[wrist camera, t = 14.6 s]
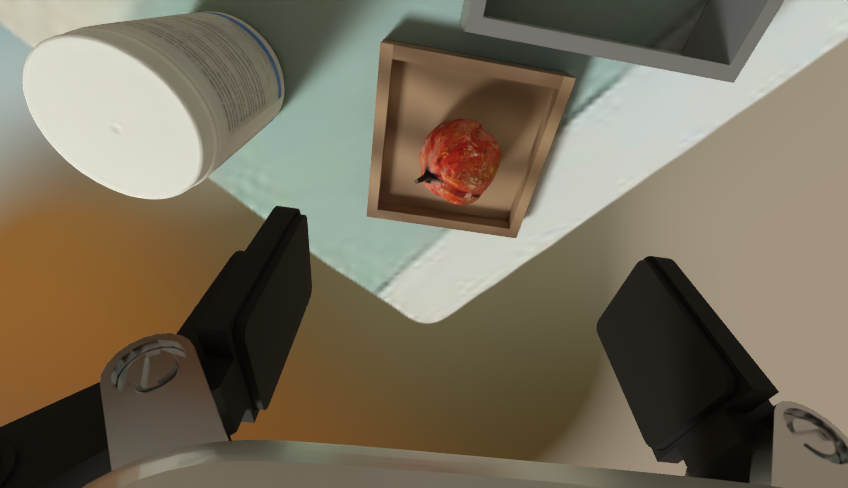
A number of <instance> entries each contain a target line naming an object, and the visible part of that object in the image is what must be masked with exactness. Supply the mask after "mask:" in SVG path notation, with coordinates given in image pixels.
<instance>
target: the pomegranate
mask: <svg viewBox="0 0 848 488" xmlns="http://www.w3.org/2000/svg"><path fill="white" fill-rule="evenodd" d="M500 148H501V147H499V145H498V142H497V140H496V138H495V137H494V136H493V135H492V134H490V133H488V132H486V131H485V130H483V127H482V125H481V124H480V123H479V122H477V121H474V120H469V119H456V120H453V121H444V122H443V123H441V124H439V125H438V126H437V127H435V128H434V129H433V130H432V131H431V132H430V133H429V134H428V136H427V137H426V138H425V140H424V141H423V143H422V146H421V150H420V154H419V160H420V164H421V177H419V178H417V179H415V181H414V183H413V185H414V184H417V183H421V182H423V184H424V186H425V187H426V188H427V189H429V190H430V191H431V192H432V193H434V194H435V195H438V196H441V197H443V198H444V199H445V200H446V201H448V202H450V203H453V204H457V205H469V204H471V203H473V202H475V201H477V200H478V199H479V197H480V196H481V195H482V193H483V192H484V191H485V190H486V189H487V188H488V186H489V185H490V184H491V183H492V181H493V179H494V177H495V175H496V173H497V171H498V169H499V164H500V161H501V157H502V156H501V151H500Z"/></svg>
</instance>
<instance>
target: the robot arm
mask: <svg viewBox="0 0 848 488" xmlns="http://www.w3.org/2000/svg"><path fill="white" fill-rule="evenodd" d="M311 291H312V281H311V267H310V253H309V239H308V224H307V217H306V215H301V214H300V211H299V209H296V208H289V207H281V206H276V207H275V208H274V209H273V210H272V212H271V213H270V215H269V216H268V218H267V219H266V221H265V222H264V224H263V225H262V227H261V228H260V230H259V231H258V233H257V234H256V236H255V237H254V239H253V240H252V241H251V243H250V244H249V246H248V247H247V249H246V250H245V251H237V252H235V253H234V254H233V255H232V257H231V258H230V259H229V261H228V262H227V263H226V265H225V266H224V268H223V269H222V271H221V272H220V273H219V275H218V276H217V278H216V279H215V280H214V282H213V283H212V285H211V286H210V287H209V289H208V290H207V292H206V293H205V295H204V296H203V297H202V299H201V300H200V302H199V303H198V305H197V306H196V307H195V309H194V310H193V312H192V313H191V314H190V316H189V317H188V318H187V320H186V321H185V323H184V324H183V326H182V327H181V328H180V330H179V331H178V333H177V334H172V333H167V334H156V335H152V336H148V337H144V338H142V339H140V340H137V341H135V342H133V343H131V344H129V345H128V346H126V347H125V348H123V349H122V350H121V351H119V352H118V353H117V354H116V355H115V356H114V357H113V358H112V359H111V360H110V361H109V362H108V363H107V365H106V367H105V369H104V370H103V372H102V374H101V381H100V382H99V383H97V384H94V385H93V386H90V387H88V388H86V389H83V390H81V391H79V392H77V393H75V394H73V395H70V396H68V397H66V398H64V399H61V400H59V401H57V402H55V403H53V404H50V405H48V406H46V407H44V408H42V409H39V410H37V411H35V412H33V413H30V414H28V415H26V416H24V417H22V418H19V419H17V420H15V421H13V422H11V423H9V424H6V425H4V426H2V427H0V488H848V438H847V437H846V436H845V435H844V434H843V433H842V432H841V431H840V430H839V429H838V428H837V427H836V426H835V425H833V424H832V423H831V422H830V421H828V420H827V419H826V418H824V417H823V416H821V415H820V414H818V413H817V412H815V411H814V410H812V409H810V408H807V407H805V406H803V405H801V404H798V403H794V402H785V401H783V402H780V403H778V404H776V405H775V406H773V405H772V404H771V403H770V402H769V400H768V399H770V398H771V397H772V396H774V395H775V394H777V393H778V392H779V391H778V390H777V389H776V388H775V386H774V385H773V384H772V383H771V381H770V380H769V379H768V378H767V376H766V375H765V374H764V373H763V372H762V370H761V369H760V368H759V366H758V365H757V364H756V363H755V361H754V360H753V359H752V358H751V356H750V355H749V354H748V353H747V351H746V350H745V349H744V348H743V346H742V345H741V344H740V343H739V341H738V340H737V339H736V338H735V336H734V335H733V334H732V333H731V332H730V330H729V329H728V328H727V327H726V325H725V324H724V323H723V322H722V320H721V319H720V318H719V317H718V315H717V314H716V313H715V312H714V310H713V309H712V308H711V307H710V306H709V304H708V303H707V302H706V300H705V299H704V298H703V297H702V295H701V294H700V293H699V292H698V290H697V289H696V288H695V287H694V286H693V284H692V283H691V282H690V280H689V279H688V278H687V277H686V276H685V274H684V273H683V272H682V270H681V269H680V268H679V267H678V265H677V264H676V263H675V262H674V261H673V260H671V259H668V258H660V257H653V256H648V257H646V258H644V260H641V261H639V262H638V263H637V264H636V266H635V267H634V268H633V270H632V271H631V273H630V275H629V276H628V277H627V279H626V280H625V282H624V283H623V285H622V286H621V288H620V289H619V291H618V292H617V294H616V295H615V297H614V298H613V300H612V301H611V303H610V304H609V305H608V307H607V308H606V310H605V311H604V313H603V314H602V316H601V317H600V319H599V320H598V323H597V332H598V335H599V337H600V340H601V342H602V344H603V347H604V349H605V351H606V354H607V356H608V358H609V360H610V363H611V365H612V367H613V370H614V372H615V374H616V377H617V379H618V381H619V383H620V386H621V388H622V390H623V393H624V395H625V397H626V399H627V402H628V404H629V406H630V408H631V411H632V413H633V415H634V418H635V420H636V422H637V425H638V427H639V429H640V432H641V434H642V436H643V438H644V440H645V442H646V444H647V445H648V446H649V447H651V448H652V450H653V452H654V455H655V457H656V459H657V461H658V462H669V463H679V462H680V461H682V460H684V462H685V464H686V466H687V469H686V473H685V476H676V475H665V474H655V473H646V472H636V471H625V470H616V469H605V468H595V467H584V466H573V465H563V464H552V463H542V462H531V461H520V460H509V459H498V458H488V457H478V456H466V455H455V454H444V453H443V454H442V453H431V452H421V451H410V450H398V449H387V448H376V447H365V446H352V445H338V444H323V443H309V442H295V441H269V440H239V441H232V438H231V435H232V434H234V433H235V432H237V430H238V427H239V425H240V423H241V421H242V422H253V423H254V422H255V420H256V417H257V415H258V412H259V410H260V409H262V410H266V409H267V407H268V405H269V403H270V401H271V398H272V395H273V393H274V391H275V388H276V385H277V383H278V380H279V378H280V375H281V372H282V370H283V367H284V364H285V362H286V359H287V357H288V354H289V351H290V349H291V346H292V344H293V341H294V339H295V336H296V333H297V331H298V328H299V326H300V323H301V320H302V317H303V315H304V312H305V310H306V307H307V305H308V302H309V299H310V296H311Z"/></svg>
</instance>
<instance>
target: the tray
mask: <svg viewBox="0 0 848 488" xmlns="http://www.w3.org/2000/svg"><path fill="white" fill-rule="evenodd" d="M575 80H576V78H574V77H573V76H571V75H569V74H568V73H566V72H560V71H555V70H549V69H544V68H539V67H533V66H528V65H522V64H517V63H512V62H506V61H501V60H496V59H490V58H485V57H479V56H474V55H469V54H463V53H458V52H452V51H447V50H442V49H436V48H431V47H425V46H420V45H415V44H409V43H404V42H398V41H393V40H388V39H384V40H383V41H382V42H381V45H380V57H379V70H378V83H377V95H376V108H375V120H374V133H373V145H372V158H371V170H370V183H369V196H368V208H367V216H368V217H375V218H382V219H388V220H395V221H402V222H409V223H416V224H423V225H429V226H436V227H443V228H450V229H457V230H464V231H471V232H477V233H484V234H491V235H498V236H505V237H512V238H516V237H517V234H518V232H519V229H520V226H521V224H522V221H523V218H524V216H525V213H526V210H527V208H528V205H529V202H530V200H531V197H532V194H533V192H534V189H535V186H536V184H537V181H538V178H539V176H540V173H541V171H542V168H543V165H544V163H545V160H546V157H547V155H548V152H549V149H550V147H551V144H552V141H553V139H554V136H555V133H556V131H557V128H558V125H559V123H560V120H561V117H562V115H563V112H564V109H565V107H566V104H567V101H568V99H569V96H570V93H571V91H572V88H573V86H574V83H575ZM456 119H469V120H474V121H477V122H479V123H480V124H481V125H482V127H483V130H485V131H486V132H488V133H490V134H492V135H493V136H494V137H495V138H496V140H497V142H498V145H499V147H501V148H500V151H501V156H502V157H501V161H500V164H499V169H498V171H497V173H496V175H495V177H494V179H493V181H492V183H491V184H490V185H489V186H488V188H487V189H486V190H485V191H484V192H483V193H482V195H481V196H480V197H479V199H478V200H477V201H475V202H473V203H471V204H469V205H457V204H453V203H450V202H448V201H446V200H445V199H444V198H443V197H441V196H438V195H435V194H434V193H432V192H431V191H430V190H429V189H427V188H426V187H425V186H424V184H423V182H421V183H417V184H414V185H413V183H414V181H415V179H417V178H419V177H421V164H420V160H419V154H420V150H421V146H422V143H423V141H424V140H425V138H426V137H427V136H428V134H429V133H430V132H431V131H432V130H433V129H434V128H435V127H437V126H438V125H439V124H441V123H443V122H444V121H453V120H456Z"/></svg>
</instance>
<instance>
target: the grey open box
mask: <svg viewBox="0 0 848 488" xmlns="http://www.w3.org/2000/svg"><path fill="white" fill-rule="evenodd" d="M783 2H784V0H709V1H708V3H707V5H706V7H705V9H704V11H703V13H702V15H701V17H700V19H699V21H698V23H697V24H696V26H695V28H694V30H693V32H692V34H691V36H690V38H689V40H688V42H687V44H686V46H685V48H684V50H683V52H682V53H678V52H673V51H668V50H663V49H657V48H652V47H647V46H642V45H637V44H632V43H627V42H621V41H616V40H611V39H606V38H601V37H596V36H591V35H585V34H580V33H575V32H570V31H565V30H560V29H555V28H550V27H544V26H539V25H534V24H529V23H524V22H519V21H514V20H508V19H503V18H498V17H493V16H488V15H483V14H484V9H485V5H486V0H464V3H463V8H462V13H461V19H460V24H459V25H460V26H461V27H462V29H463V30H464V31H465V32H470V33H475V34H480V35H486V36H491V37H496V38H501V39H507V40H512V41H517V42H522V43H528V44H533V45H538V46H543V47H549V48H554V49H559V50H564V51H570V52H575V53H580V54H585V55H591V56H596V57H601V58H607V59H612V60H617V61H622V62H628V63H633V64H638V65H643V66H649V67H654V68H659V69H664V70H670V71H675V72H680V73H685V74H691V75H696V76H701V77H706V78H712V79H717V80H722V81H727V82H733V83H734V81H735V80H736V78H737V76H738V75H739V73H740V72H741V70H742V68H743V67H744V65H745V63H746V62H747V60H748V59H749V57H750V55H751V54H752V52H753V50H754V49H755V47H756V46H757V44H758V42H759V41H760V39H761V37H762V36H763V34H764V33H765V31H766V29H767V28H768V26H769V24H770V23H771V21H772V20H773V18H774V16H775V15H776V13H777V11H778V10H779V8H780V7H781V5H782V3H783Z"/></svg>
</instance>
